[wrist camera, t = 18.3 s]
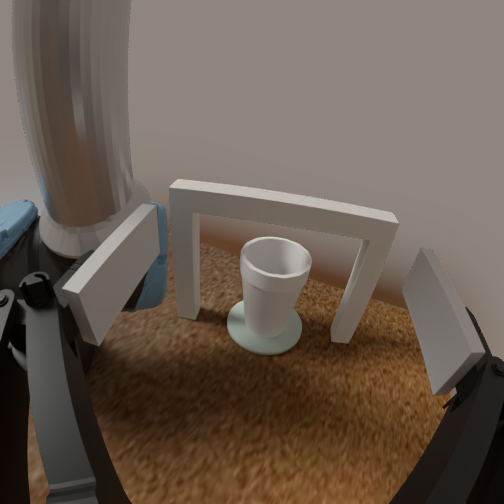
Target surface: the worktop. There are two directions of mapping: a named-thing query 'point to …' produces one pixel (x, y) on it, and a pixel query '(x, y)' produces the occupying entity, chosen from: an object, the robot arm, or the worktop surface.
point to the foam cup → (272, 282)
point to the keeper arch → (285, 214)
